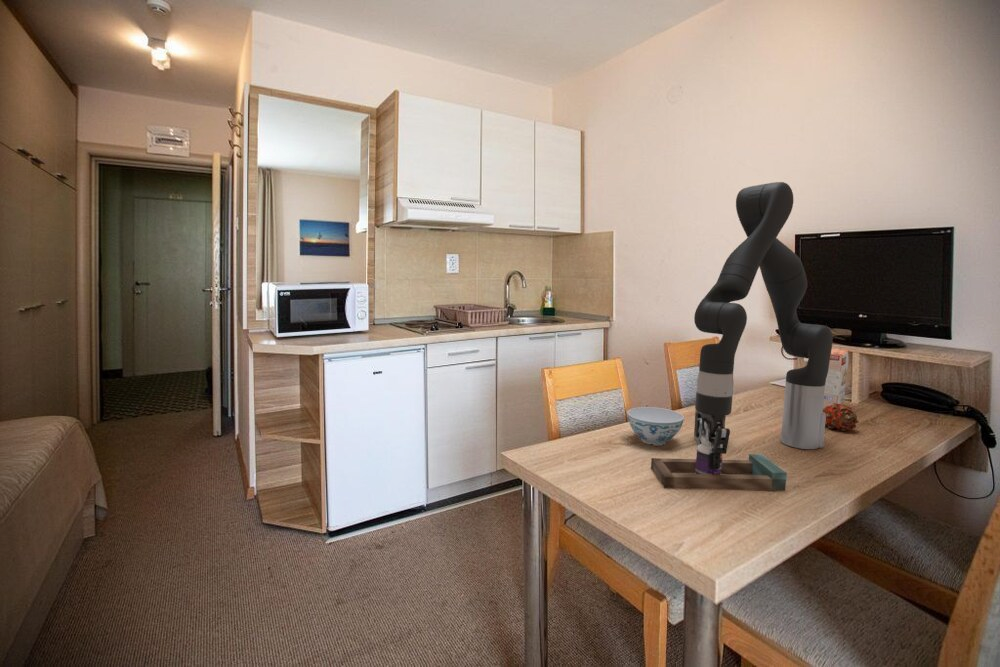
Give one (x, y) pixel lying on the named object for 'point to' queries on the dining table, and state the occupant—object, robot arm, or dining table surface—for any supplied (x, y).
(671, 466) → the channel
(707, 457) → the pill bottle
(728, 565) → the dining table surface
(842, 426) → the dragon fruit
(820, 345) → the robot arm
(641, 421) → the chinaware
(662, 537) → the dining table surface
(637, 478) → the dining table surface
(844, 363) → the cracker box
